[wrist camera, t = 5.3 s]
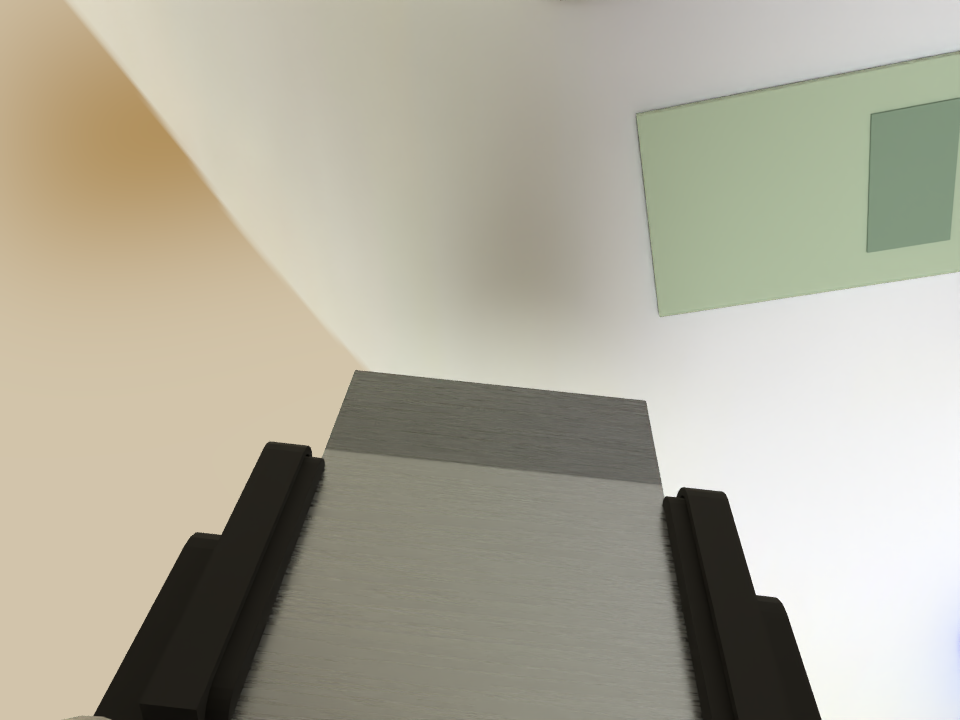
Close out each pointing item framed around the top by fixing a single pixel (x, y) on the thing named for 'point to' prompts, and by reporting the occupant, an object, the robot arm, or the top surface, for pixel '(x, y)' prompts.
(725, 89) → the top surface
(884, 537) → the top surface
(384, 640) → the brushed grey block
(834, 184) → the pad
